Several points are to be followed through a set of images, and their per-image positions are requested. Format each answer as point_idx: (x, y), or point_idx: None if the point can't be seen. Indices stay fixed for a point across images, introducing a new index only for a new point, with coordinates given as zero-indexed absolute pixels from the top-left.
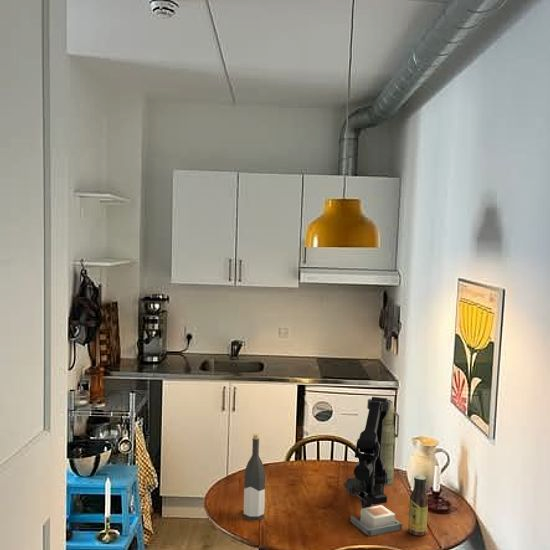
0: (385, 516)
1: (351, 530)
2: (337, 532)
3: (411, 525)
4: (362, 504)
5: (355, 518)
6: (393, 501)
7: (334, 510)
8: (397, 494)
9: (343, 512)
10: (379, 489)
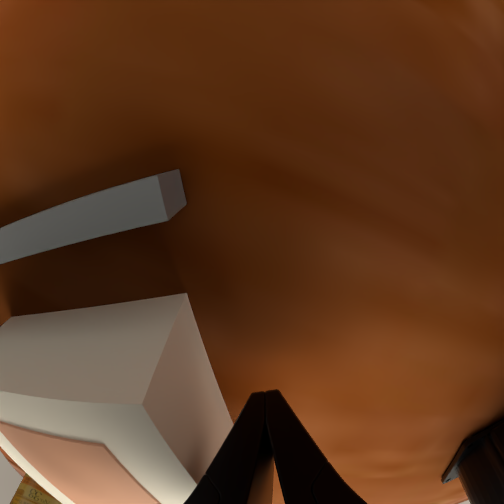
0: (19, 465)
1: (14, 128)
2: (21, 5)
3: (26, 484)
4: (282, 468)
5: (90, 225)
6: (401, 498)
7: (488, 113)
8: (436, 499)
9: (441, 183)
10: (472, 498)
